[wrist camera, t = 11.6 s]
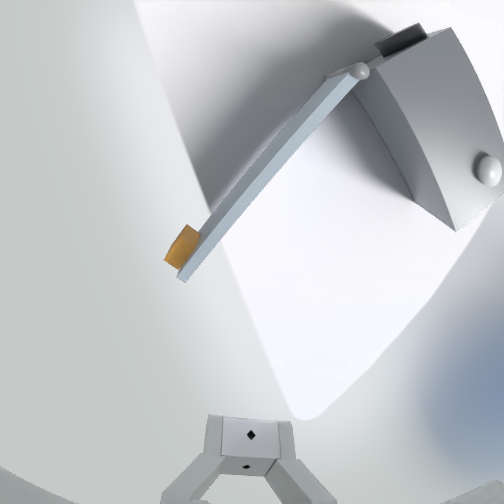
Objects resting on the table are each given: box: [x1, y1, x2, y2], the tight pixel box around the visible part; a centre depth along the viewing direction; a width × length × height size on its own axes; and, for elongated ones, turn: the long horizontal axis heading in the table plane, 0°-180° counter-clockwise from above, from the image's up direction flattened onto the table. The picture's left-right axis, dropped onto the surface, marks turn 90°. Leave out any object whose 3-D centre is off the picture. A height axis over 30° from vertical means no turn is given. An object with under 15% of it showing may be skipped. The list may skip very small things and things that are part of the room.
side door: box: [164, 62, 370, 282], centre depth 22 cm, size 20×2×7 cm, turn 141°
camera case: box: [351, 23, 504, 232], centre depth 20 cm, size 15×8×8 cm, turn 37°
